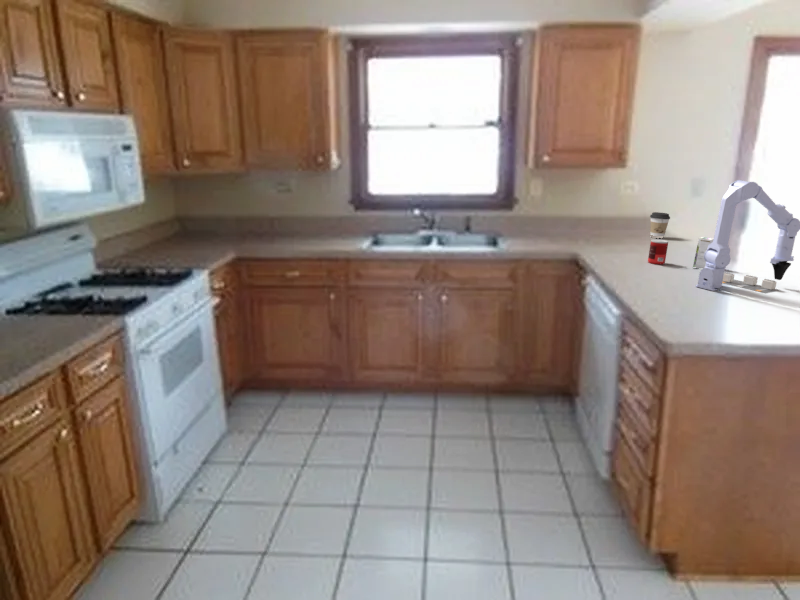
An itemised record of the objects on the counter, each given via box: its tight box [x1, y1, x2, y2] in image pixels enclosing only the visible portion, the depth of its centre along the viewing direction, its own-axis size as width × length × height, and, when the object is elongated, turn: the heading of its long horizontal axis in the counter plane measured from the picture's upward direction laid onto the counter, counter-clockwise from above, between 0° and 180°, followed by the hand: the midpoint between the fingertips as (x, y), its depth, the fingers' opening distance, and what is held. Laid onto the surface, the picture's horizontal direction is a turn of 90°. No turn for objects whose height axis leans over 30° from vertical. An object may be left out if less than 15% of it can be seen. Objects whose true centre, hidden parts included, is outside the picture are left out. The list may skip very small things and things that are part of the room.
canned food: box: [647, 238, 669, 266], centre depth 295 cm, size 8×8×11 cm
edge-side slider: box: [761, 278, 777, 290], centre depth 249 cm, size 3×4×3 cm
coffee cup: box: [649, 211, 671, 237], centre depth 367 cm, size 11×11×15 cm
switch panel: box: [722, 279, 780, 294], centre depth 254 cm, size 12×22×1 cm, turn 33°
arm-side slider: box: [723, 271, 735, 282], centre depth 259 cm, size 3×4×3 cm
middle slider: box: [743, 274, 758, 285], centre depth 255 cm, size 3×4×3 cm
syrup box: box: [692, 236, 714, 268], centre depth 287 cm, size 6×6×14 cm
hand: (777, 279), depth 253 cm, fingers closed
